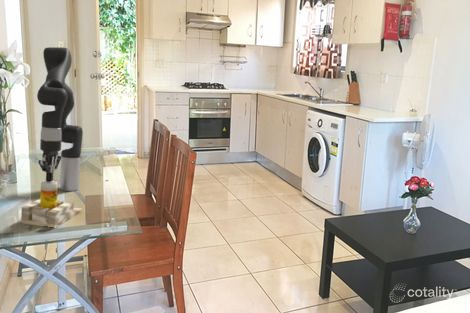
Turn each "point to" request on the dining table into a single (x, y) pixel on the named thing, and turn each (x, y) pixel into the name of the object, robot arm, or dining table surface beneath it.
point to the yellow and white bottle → (48, 194)
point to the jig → (48, 214)
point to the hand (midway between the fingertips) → (49, 180)
